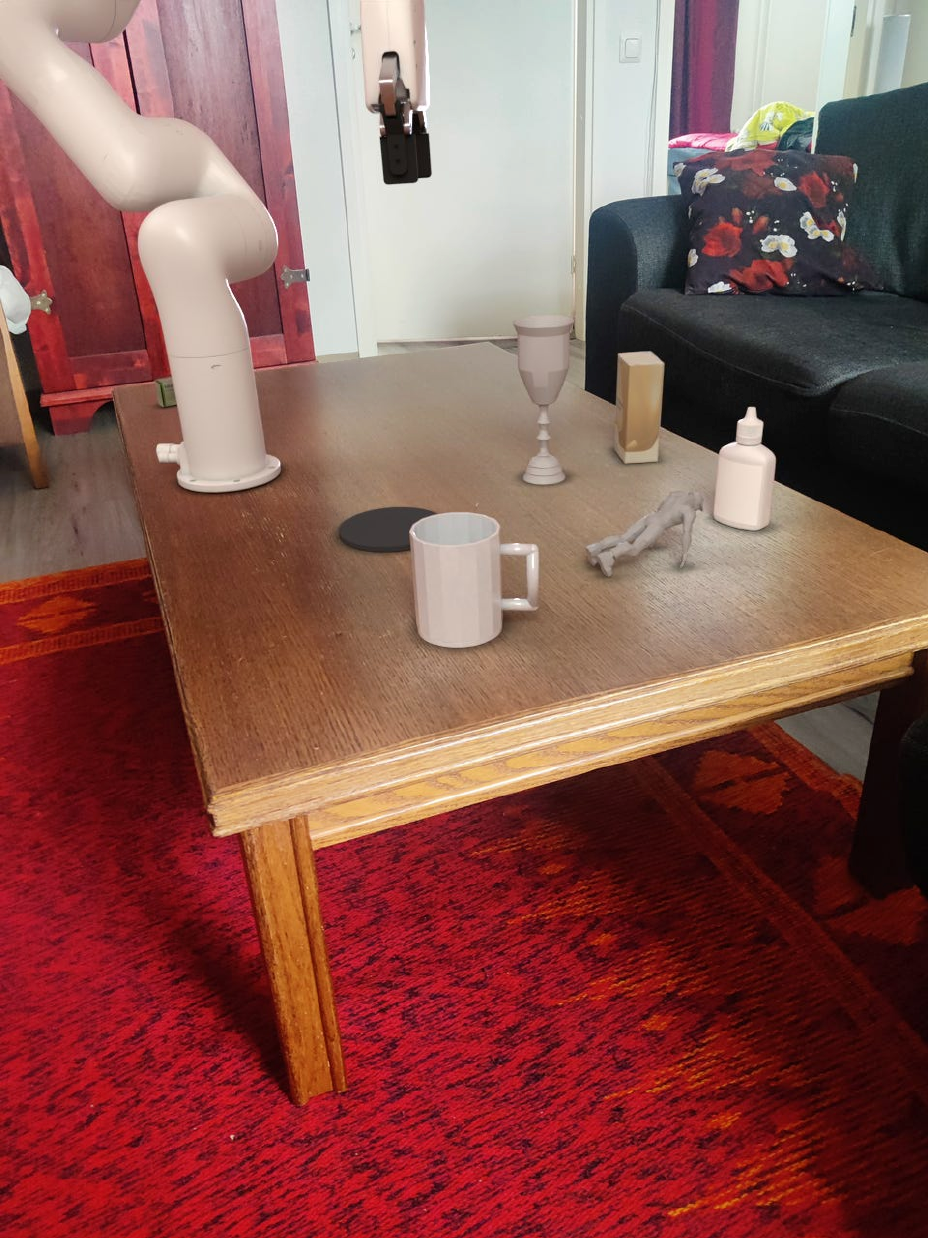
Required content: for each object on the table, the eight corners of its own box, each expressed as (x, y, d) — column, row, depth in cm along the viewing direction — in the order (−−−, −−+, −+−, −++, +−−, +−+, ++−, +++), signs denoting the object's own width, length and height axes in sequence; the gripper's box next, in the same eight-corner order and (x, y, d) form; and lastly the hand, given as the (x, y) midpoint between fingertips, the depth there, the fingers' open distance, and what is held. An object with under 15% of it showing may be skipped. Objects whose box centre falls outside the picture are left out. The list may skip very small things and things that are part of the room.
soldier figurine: (624, 605, 88) (730, 541, 89) (607, 559, 85) (717, 493, 86) (591, 579, 93) (692, 518, 94) (574, 535, 90) (678, 473, 91)
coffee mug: (410, 646, 78) (402, 545, 73) (425, 607, 84) (418, 511, 80) (536, 650, 76) (535, 547, 72) (541, 609, 83) (541, 512, 78)
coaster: (327, 551, 96) (326, 546, 96) (353, 511, 106) (352, 506, 105) (436, 553, 94) (436, 547, 94) (452, 511, 104) (452, 506, 104)
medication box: (163, 408, 149) (158, 384, 147) (156, 403, 151) (152, 379, 149) (234, 393, 155) (230, 369, 153) (227, 388, 157) (223, 364, 155)
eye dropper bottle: (734, 535, 95) (745, 417, 89) (708, 516, 100) (717, 403, 94) (774, 529, 96) (787, 412, 90) (746, 510, 101) (757, 398, 95)
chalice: (569, 488, 109) (570, 327, 101) (510, 486, 110) (507, 327, 102) (575, 467, 115) (577, 314, 107) (520, 466, 117) (517, 315, 108)
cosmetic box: (612, 449, 121) (616, 352, 115) (646, 447, 121) (651, 349, 116) (624, 465, 115) (628, 363, 110) (659, 462, 116) (665, 361, 110)
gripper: (368, -15, 92) (386, 178, 100) (329, -43, 77) (353, 188, 85) (445, -22, 92) (456, 174, 99) (420, -51, 76) (436, 183, 84)
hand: (409, 180), depth 92 cm, fingers open, 9 cm apart
